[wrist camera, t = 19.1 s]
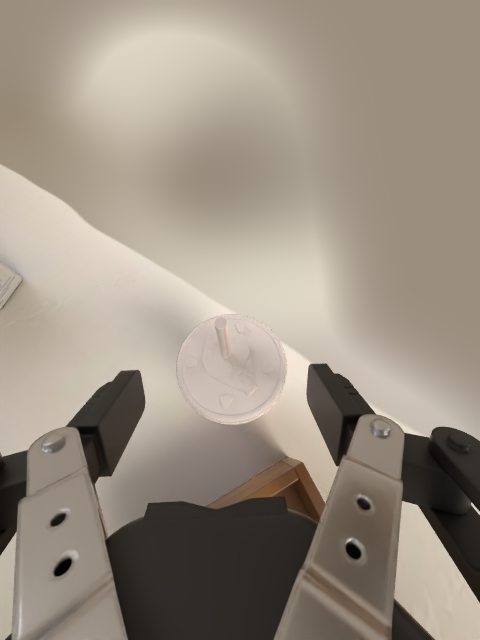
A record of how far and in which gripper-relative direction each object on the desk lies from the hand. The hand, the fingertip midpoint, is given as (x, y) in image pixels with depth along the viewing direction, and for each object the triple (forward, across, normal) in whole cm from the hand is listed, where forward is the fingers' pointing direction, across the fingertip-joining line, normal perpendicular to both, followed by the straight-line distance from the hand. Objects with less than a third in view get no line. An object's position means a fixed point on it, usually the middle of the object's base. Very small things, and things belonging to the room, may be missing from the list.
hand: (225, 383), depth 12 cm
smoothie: (+9, 0, +7) cm, 12 cm away
